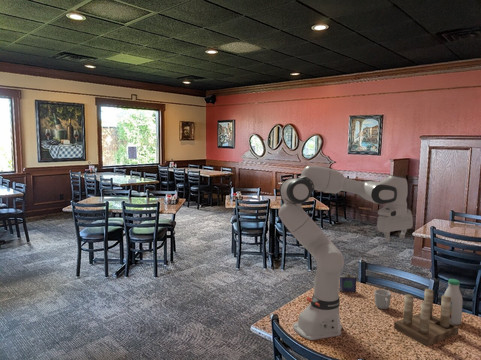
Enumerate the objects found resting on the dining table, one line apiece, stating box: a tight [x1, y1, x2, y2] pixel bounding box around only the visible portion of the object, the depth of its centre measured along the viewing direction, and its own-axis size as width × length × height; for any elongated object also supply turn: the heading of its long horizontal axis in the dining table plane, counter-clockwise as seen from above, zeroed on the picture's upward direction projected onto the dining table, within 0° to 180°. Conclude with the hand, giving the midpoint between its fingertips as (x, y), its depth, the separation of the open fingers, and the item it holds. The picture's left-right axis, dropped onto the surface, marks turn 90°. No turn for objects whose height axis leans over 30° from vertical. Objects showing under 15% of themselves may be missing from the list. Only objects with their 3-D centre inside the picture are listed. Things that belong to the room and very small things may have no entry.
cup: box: [374, 288, 392, 310], centre depth 176 cm, size 11×8×8 cm
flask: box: [339, 272, 357, 293], centre depth 197 cm, size 9×3×11 cm, turn 84°
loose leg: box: [439, 294, 451, 329], centre depth 154 cm, size 4×4×16 cm
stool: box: [393, 288, 460, 347], centre depth 154 cm, size 22×16×16 cm
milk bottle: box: [443, 278, 463, 326], centre depth 163 cm, size 8×8×20 cm
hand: (394, 239), depth 161 cm, fingers open, 8 cm apart
